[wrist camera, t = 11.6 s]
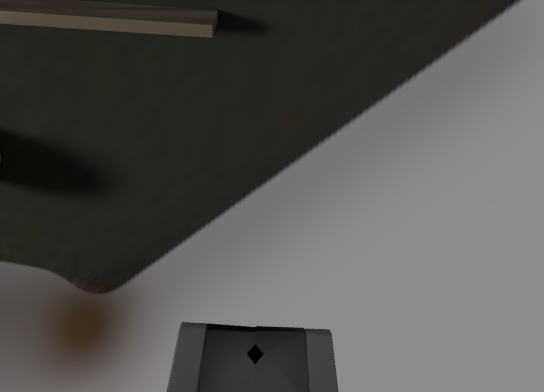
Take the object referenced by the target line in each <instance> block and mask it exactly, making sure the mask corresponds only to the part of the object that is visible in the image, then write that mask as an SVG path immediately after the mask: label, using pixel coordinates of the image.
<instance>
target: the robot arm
mask: <svg viewBox="0 0 544 392" xmlns="http://www.w3.org/2000/svg"><path fill="white" fill-rule="evenodd" d="M167 392H338V385H337V376H336V368H335V359H334V350H333V342H332V334H331V332H330V330H325V329H304V328H293V327H263V326H256V327H247V326H234V325H233V326H232V325H220V324H205V323H188V322H182V324H181V326H180V329H179V333H178V338H177V343H176V348H175V353H174V358H173V363H172V369H171V374H170V379H169V383H168V388H167Z"/></svg>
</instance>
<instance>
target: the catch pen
mask: <svg viewBox="0 0 544 392" xmlns="http://www.w3.org/2000/svg"><path fill="white" fill-rule="evenodd" d="M217 22H218V10H213V9H199V8H184V7H170V6H155V5H141V4H126V3H112V2H97V1H83V0H0V23H1V24H16V25H31V26H46V27H61V28H75V29H90V30H105V31H120V32H135V33H150V34H165V35H180V36H195V37H210V38H212V37H213V34H214V31H215V28H216V25H217Z"/></svg>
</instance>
